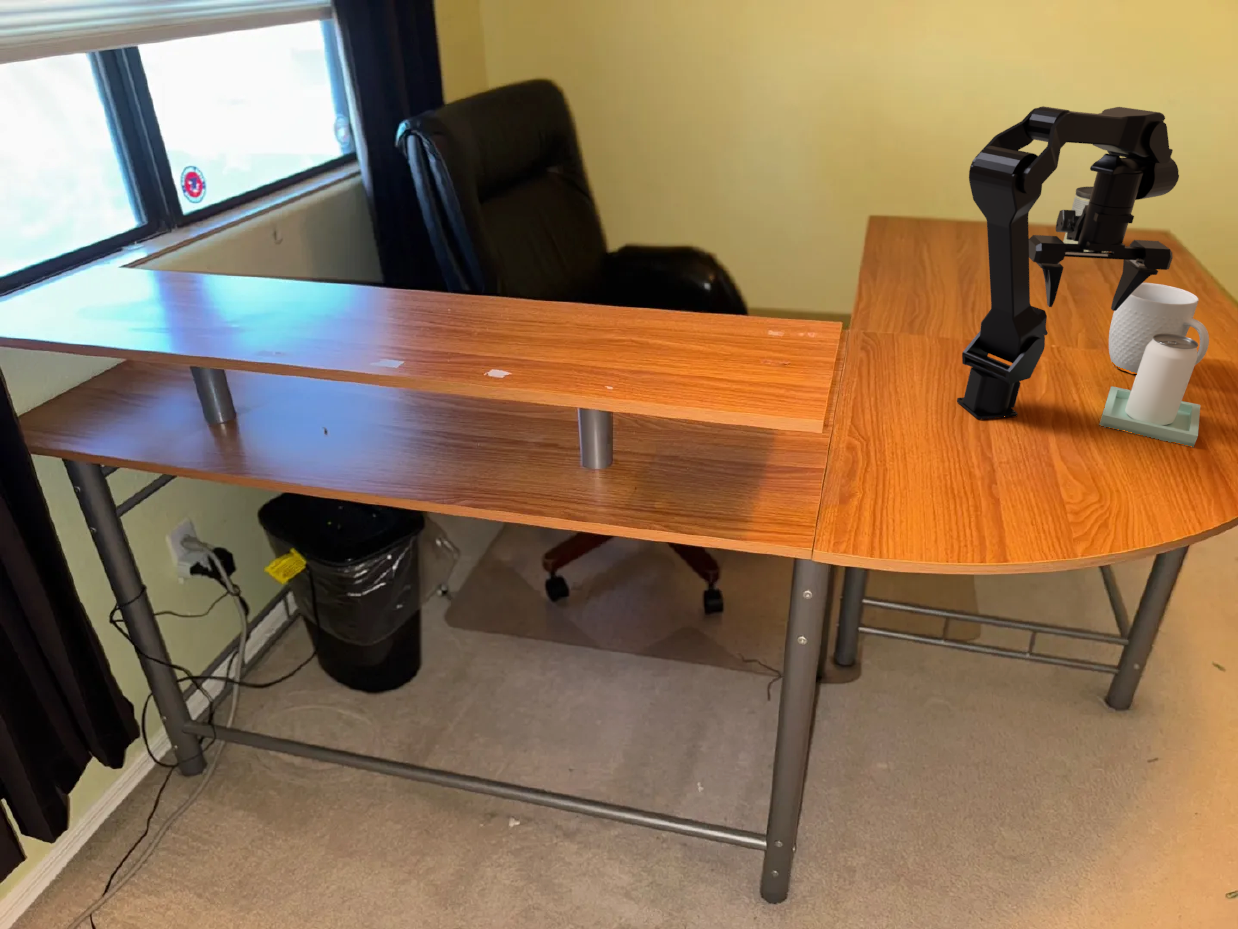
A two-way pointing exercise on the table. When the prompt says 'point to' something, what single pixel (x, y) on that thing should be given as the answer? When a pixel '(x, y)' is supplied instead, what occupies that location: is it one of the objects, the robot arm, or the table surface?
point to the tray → (1177, 431)
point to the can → (1162, 379)
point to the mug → (1152, 322)
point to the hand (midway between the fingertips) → (1081, 308)
